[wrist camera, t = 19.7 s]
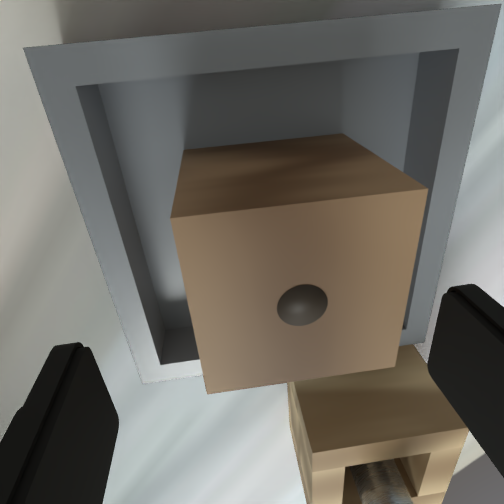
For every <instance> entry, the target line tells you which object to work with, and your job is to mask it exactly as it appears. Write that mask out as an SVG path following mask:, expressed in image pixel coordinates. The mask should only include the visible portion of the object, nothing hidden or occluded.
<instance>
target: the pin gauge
mask: <svg viewBox="0 0 504 504" xmlns="http://www.w3.org/2000/svg"><path fill="white" fill-rule="evenodd" d="M349 467H350V470H351V473H352V476H353V479H354V482H355V485H356V488H357V491H358V494H359V497H360V499H361V502H362V504H414V503H413V501H412V499H411V496H410V494H409V492H408V490H407V488H406V485H405V483H404V481H403V479H402V477H401V474H400V472H399V470H398V468H397V466H396V463H395V461H394V459H388V460H383V461H377V462H371V463H365V464H359V465H353V466H349Z"/></svg>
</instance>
